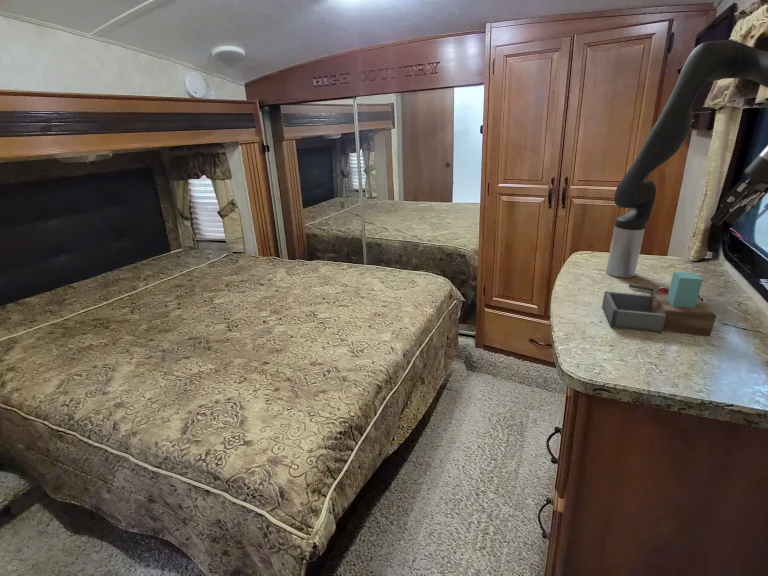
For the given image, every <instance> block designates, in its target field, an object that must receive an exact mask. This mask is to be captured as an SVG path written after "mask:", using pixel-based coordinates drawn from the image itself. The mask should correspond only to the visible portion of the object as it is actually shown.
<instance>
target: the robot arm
mask: <svg viewBox="0 0 768 576" xmlns="http://www.w3.org/2000/svg"><path fill="white" fill-rule="evenodd" d="M724 79H745V80H751V81H754V82H756V83H758V84H759V85H760V86H763V87H766V88H768V51H766V50H763V49H758V48H755V47H752V46H750V45H748V44H746V43H742V42H739V41H737V40H734V39H733V40H732V39H724V40H710V41H705V42H702V43H699V44H698V45H696V47H695V48H694V49H693V50H692V51H691V52H690V54H689V56H688V57H687V59H686V61H685V63H684V65H683V68H682V69H681V71H680V74H679V76H678V79H677V81H676V83H675V85H674V88H673V90H672V92H671V94H670V96H669V98H668V100H667V102H666V104H665V106H664V108H663V109H662V111H661V114H660V116H659V117H658V119H657V121H656V122H655V124H654V125H653V127H652V129H651V131H650V133H649V135H648V136H647V138H646V140H645V141H644V144H643V146H642V148H641V150H640V151H639V153H638V154H637V156H636V158H635V160H634V161H633V163H632V164H631V165H630V167H629V169H628V170H627V172H626V173H625V175H624V176H623V177H622V179H621V180H620V181H619V183H618V185H617V186H616V189H615V191H614V196H613V200H614V203H615V205H616V206H617V207H618V208H622V209H630V210H629V211H628V212H627V213H625V214H623V215H620V216H618V217H617V218H616V219H615V223H614V226H613V233H612V239H611V243H610V249H609V254H608V260H607V263H606V269H605V273H606V274H608V275H610V276H612V277H616V278H626V279H627V278H629V279H630V278H634V277H635V275H636V271H637V266H638V262H639V258H640V254H641V248H642V243H643V239H644V235H645V229H646V226H647V224H648V222H649V220H650V218H651V214H652V211H653V207H654V203H655V200H656V196H657V195H656V194H657V188H656V187H657V186H656V184H655V182H654V181H652V180H650V179H646V178H647V177H648V176H649V175H650V174H651V173H652V172H654V171H655V170H656V169H658V168H659V167H660V166H662V165H663V164H664V163H667V161H668V160H670V159H671V158H672V157H673V156H675V154H676V153H678V151H679V150H680V148H681V147H682V145H683V143H685V140H686V139H687V137H688V136H689V133H690V132H691V129H692V121H693V117H692V116H693V114H692V113H693V105H694V102H695V100H696V98H697V96H698V94H699V92H700V91H701V89H702V88H703V86H704V85H705V84H706V83H707V82H714V81H715V82H716V81H721V80H724ZM744 174H745V175H747V176H748V177H749V179H747V180H746V181H745V182H744V181H742V180H739V181H738V182H737V183H736V184H735V185H734V186H733V188H732V189H730V191H729V192H728V193H727V194H726V195H725V197H723V199H722V200H721V201H720V202H719V205H720V208H719V209H717V211H716V212H715V213H714V215H712V217H711V218H710V219H709V220H710V222H711V223H713V224H714V225H721V224H722V223H723V222H724V221H725V222H726V223H729V224H731V225H733V224H736V222H737V221H738V220H739V219H741V217H742V216H743V215H744V214H745V213H746V212H748V211H749V212H750V210H753V209H754V208H756V206H757V205H758V204H759V203H760V202H761V200H763V198H765V196H766V195H767V194H768V144H767V145H765V147H764V148H763V149H762V151H761V152H760V153H759V154H758V155H757V156H756V157H755V158H754V159H753V161H752V162H751V163H750V164H749V166H747V167H746V169H745V170H744Z"/></svg>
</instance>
